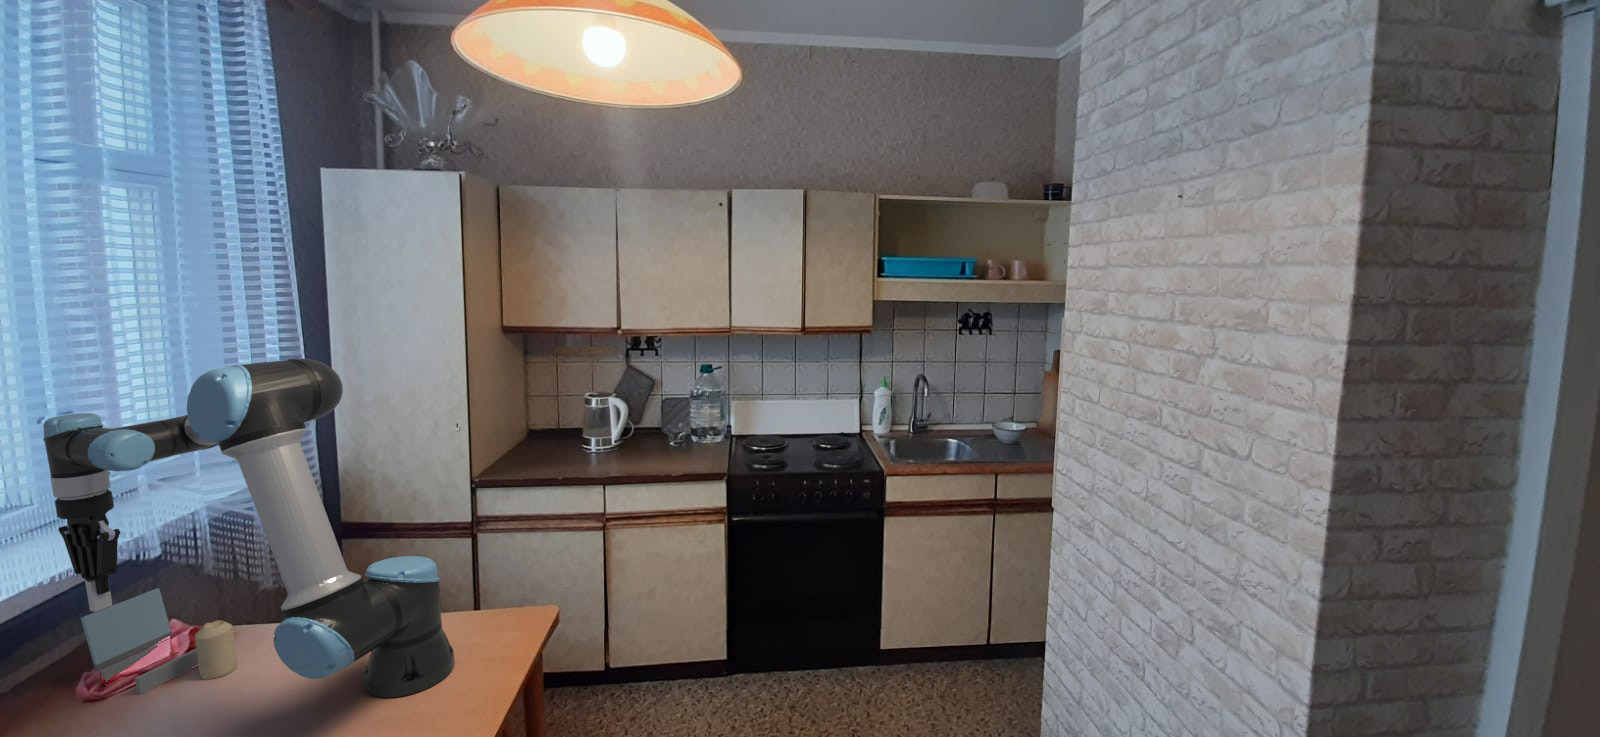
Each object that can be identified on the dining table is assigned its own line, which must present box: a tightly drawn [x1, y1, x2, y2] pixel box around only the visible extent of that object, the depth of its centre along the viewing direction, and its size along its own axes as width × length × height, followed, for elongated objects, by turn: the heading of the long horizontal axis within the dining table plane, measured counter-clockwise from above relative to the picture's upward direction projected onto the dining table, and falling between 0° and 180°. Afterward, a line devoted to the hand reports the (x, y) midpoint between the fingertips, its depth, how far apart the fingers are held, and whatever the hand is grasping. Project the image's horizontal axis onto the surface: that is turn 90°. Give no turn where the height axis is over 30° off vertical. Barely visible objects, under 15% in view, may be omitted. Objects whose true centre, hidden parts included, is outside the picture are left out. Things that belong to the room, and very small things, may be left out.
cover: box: [80, 587, 174, 672], centre depth 129 cm, size 11×12×1 cm
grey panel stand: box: [99, 644, 199, 695], centre depth 128 cm, size 10×12×3 cm
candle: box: [194, 619, 238, 680], centre depth 128 cm, size 6×6×10 cm
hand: (101, 607), depth 130 cm, fingers closed
